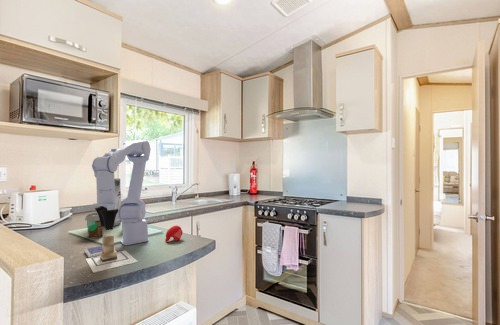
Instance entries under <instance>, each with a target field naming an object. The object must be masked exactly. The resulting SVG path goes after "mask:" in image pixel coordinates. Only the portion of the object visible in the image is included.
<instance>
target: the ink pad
mask: <svg viewBox="0 0 500 325" xmlns="http://www.w3.org/2000/svg"><path fill="white" fill-rule="evenodd" d="M114 249H115V250H116V251H117V248H115V246H114ZM102 251H103V245H99V246H94V247H87V248H85V249H84V253H85V255H86V256H87V258H91V257H96V256H100V252H102Z"/></svg>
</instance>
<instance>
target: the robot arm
mask: <svg viewBox="0 0 500 325" xmlns="http://www.w3.org/2000/svg"><path fill="white" fill-rule="evenodd" d="M150 154H151V145H150V142H149V141H148V140H146V139H145V140H144V139H143V140H126V141H124V142H123V144H122V146H121V147H120V148H116V147H115V148H113V147H112V148H110V151H109V152H105V153H104V155H102V156H97V157H95V158H94V159H93V160H92V164H91V168H92V171H93V174H94V177H95V178H96V179H95V180H96V181H95V182H96V202H94V203H92V205H93V206H94V210H95V211H96V213H98V216H99V219H100V223H101V226H102V227H103V228H105V231H111V230H113V229H114V227H115V226H114V221H115V217H116V215H117V216H118V218H119V219H120V220H121V223H122V222H123V232H122V240H121V239H120V243H121V244H122V245H124V246H130V245H134V244H140V243H145V242H148V241H149V232H148V229H149V228H148V222H147V219H145V217H146V203H145V201H144V200H143V199H141V195H142V194H141V193H142V188H143V182H144V176H145V172H146V165H147V164H146V163H147V162H148V161H149V160H150ZM126 157H127V159H128V161H129V162H132V170H131V174H130V180H129V186H128V191H127V197H126V198H124V199H123V200H121V204H120V207H119V208H118V209H114V205H115V204H116V201H115V182H114V179H115V172H117V170H118V167H119V166H120V164H122V163H123V162H124V161H125V159H126ZM95 206H97V207H95ZM98 206H100V207H98ZM104 226H105V227H104Z"/></svg>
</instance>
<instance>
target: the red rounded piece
mask: <svg viewBox="0 0 500 325" xmlns="http://www.w3.org/2000/svg"><path fill="white" fill-rule="evenodd" d="M182 236H183V230H182V227H181V226H179V225H173V226H171V227H170V228H169V229H167V231H166V233H165V239H164V241H165V243H168V242H169V241H170V240H171V238H173V240H176V241H177V242H179V241H181V238H182Z"/></svg>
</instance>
